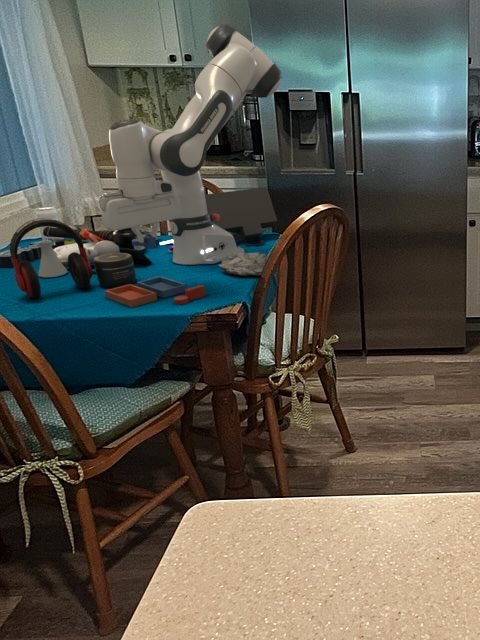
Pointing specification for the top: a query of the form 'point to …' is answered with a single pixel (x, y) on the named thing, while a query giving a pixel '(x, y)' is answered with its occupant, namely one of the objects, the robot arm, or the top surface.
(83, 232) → the toy figure
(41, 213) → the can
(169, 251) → the building blocks
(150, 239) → the navy paddle shape
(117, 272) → the jar
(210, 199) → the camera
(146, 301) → the terracotta tray
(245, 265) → the rock
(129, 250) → the smartphone
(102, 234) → the flashlight
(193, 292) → the red paddle shape
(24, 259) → the logo
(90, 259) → the round bodied animal figurine
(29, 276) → the headphones
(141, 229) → the topographic map
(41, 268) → the flask
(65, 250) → the binoculars
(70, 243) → the sponge
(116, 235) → the ink bottle
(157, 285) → the blue tray
